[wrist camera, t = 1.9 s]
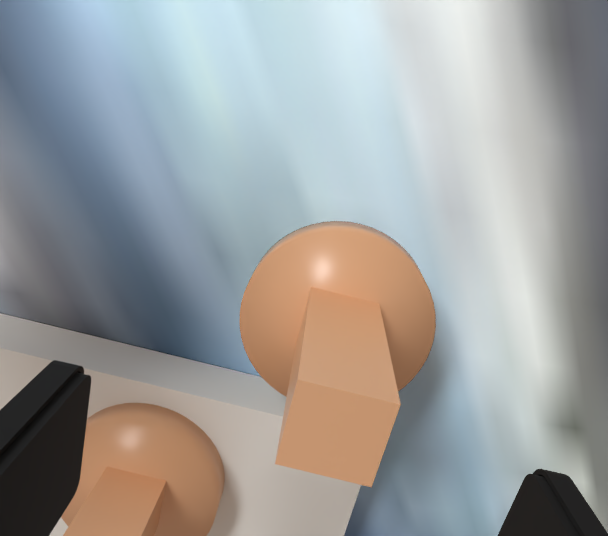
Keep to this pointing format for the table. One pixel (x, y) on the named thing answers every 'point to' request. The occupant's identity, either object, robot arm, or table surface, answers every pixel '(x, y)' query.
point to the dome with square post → (337, 342)
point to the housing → (174, 444)
